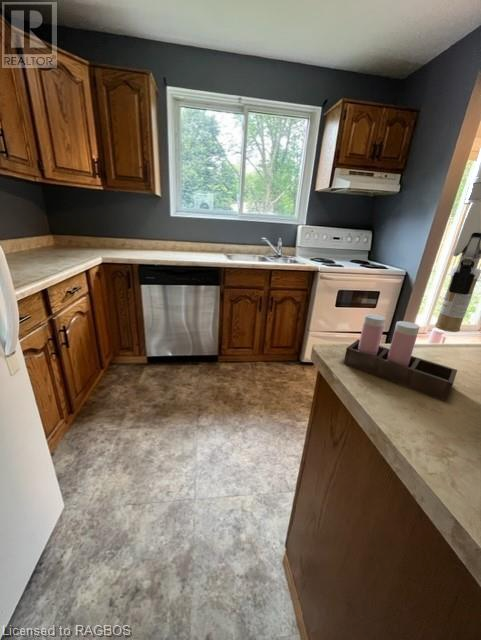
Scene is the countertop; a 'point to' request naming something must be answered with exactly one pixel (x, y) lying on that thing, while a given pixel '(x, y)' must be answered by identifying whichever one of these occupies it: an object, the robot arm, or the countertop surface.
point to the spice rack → (404, 371)
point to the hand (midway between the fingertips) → (459, 290)
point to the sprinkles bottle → (455, 306)
